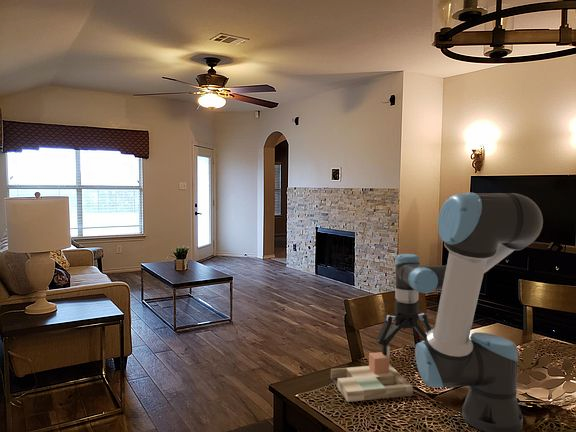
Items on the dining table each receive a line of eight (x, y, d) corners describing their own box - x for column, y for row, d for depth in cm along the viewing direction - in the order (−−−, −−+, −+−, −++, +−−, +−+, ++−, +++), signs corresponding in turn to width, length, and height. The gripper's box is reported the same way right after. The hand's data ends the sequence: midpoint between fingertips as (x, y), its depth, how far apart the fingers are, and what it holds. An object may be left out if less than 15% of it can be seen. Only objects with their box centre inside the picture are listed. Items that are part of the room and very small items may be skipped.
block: (388, 372, 145) (389, 357, 144) (374, 373, 144) (374, 358, 144) (382, 366, 150) (383, 352, 149) (368, 367, 149) (369, 353, 148)
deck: (412, 395, 135) (412, 386, 135) (347, 401, 131) (347, 392, 131) (389, 372, 152) (389, 364, 152) (330, 377, 148) (330, 369, 147)
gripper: (435, 295, 153) (434, 355, 154) (367, 299, 148) (366, 360, 150) (446, 301, 146) (445, 363, 147) (375, 305, 141) (374, 369, 143)
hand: (405, 362), depth 149 cm, fingers open, 13 cm apart
